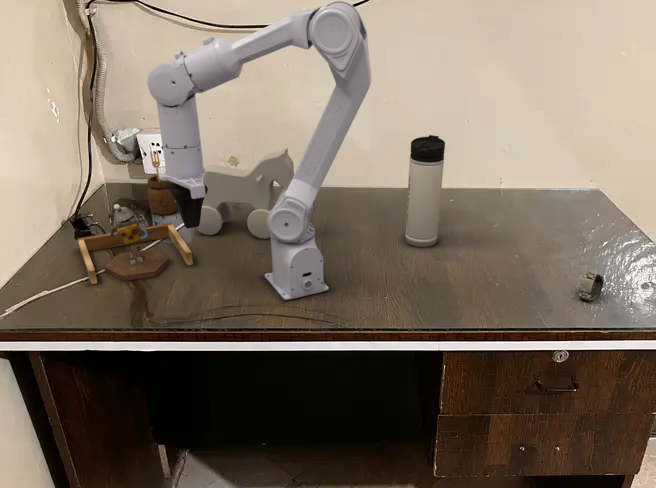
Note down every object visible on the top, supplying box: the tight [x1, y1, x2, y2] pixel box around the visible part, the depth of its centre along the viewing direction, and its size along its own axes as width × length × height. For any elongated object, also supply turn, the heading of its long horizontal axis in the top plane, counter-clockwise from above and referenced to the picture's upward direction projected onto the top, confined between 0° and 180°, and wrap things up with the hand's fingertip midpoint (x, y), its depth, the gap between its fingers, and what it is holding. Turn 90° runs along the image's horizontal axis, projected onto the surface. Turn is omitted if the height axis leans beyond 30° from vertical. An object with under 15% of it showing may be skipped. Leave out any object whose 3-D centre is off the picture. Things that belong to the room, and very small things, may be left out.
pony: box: [194, 147, 295, 240], centre depth 120 cm, size 20×10×17 cm, turn 84°
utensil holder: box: [147, 150, 179, 216], centre depth 129 cm, size 6×6×12 cm
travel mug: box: [404, 134, 446, 248], centre depth 117 cm, size 6×7×20 cm
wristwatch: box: [578, 270, 604, 302], centre depth 103 cm, size 3×5×5 cm
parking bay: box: [76, 222, 194, 285], centre depth 112 cm, size 14×17×2 cm
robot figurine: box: [103, 203, 170, 282], centre depth 106 cm, size 11×9×12 cm
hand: (191, 226), depth 102 cm, fingers closed
